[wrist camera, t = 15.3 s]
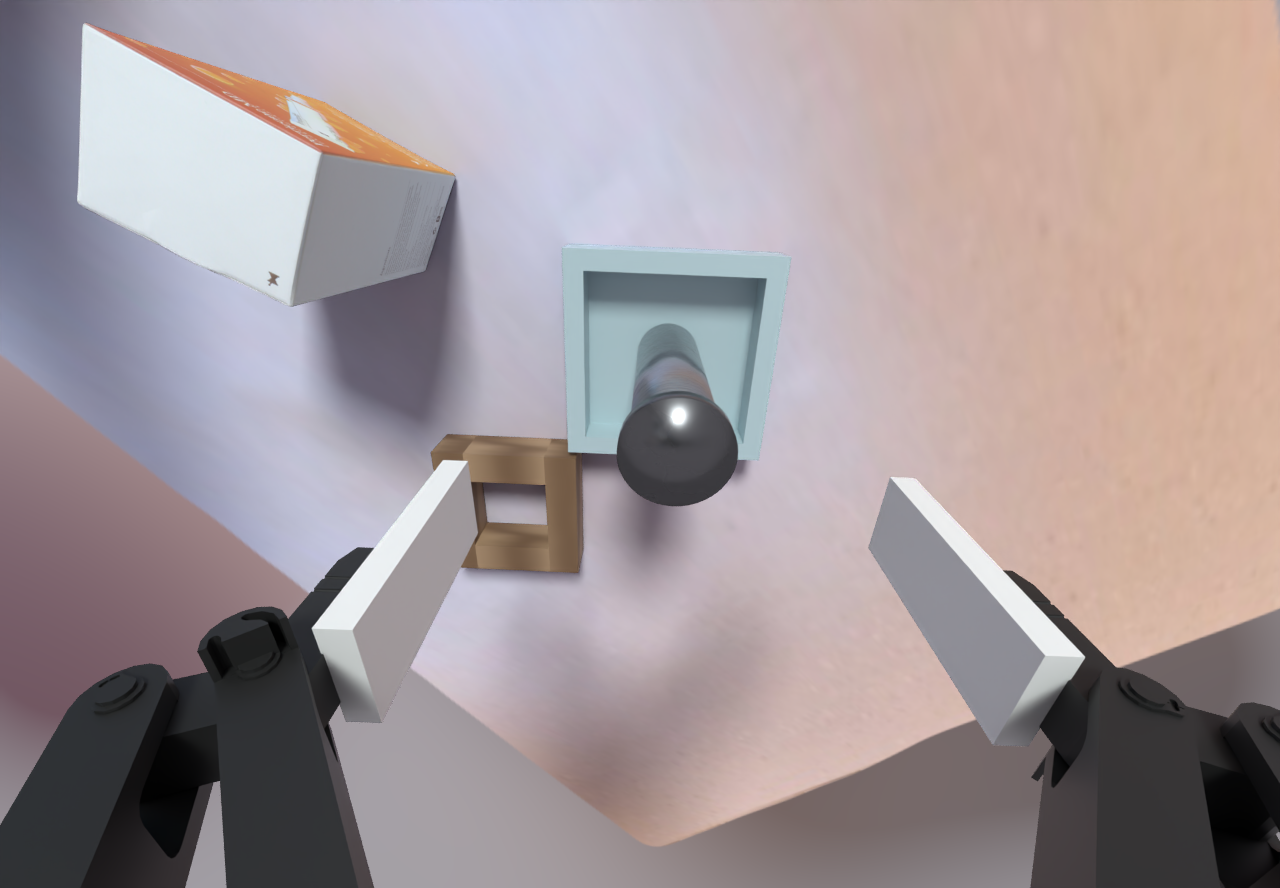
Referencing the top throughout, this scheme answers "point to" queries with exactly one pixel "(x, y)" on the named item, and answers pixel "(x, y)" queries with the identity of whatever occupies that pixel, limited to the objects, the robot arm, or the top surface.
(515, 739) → the top surface
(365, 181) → the small box
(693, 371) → the pin
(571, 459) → the socket block
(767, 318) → the tray
